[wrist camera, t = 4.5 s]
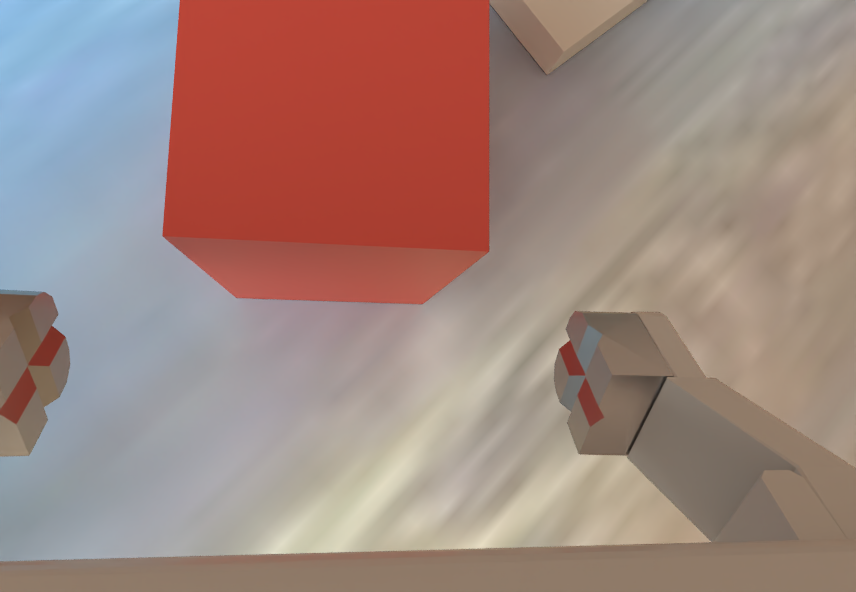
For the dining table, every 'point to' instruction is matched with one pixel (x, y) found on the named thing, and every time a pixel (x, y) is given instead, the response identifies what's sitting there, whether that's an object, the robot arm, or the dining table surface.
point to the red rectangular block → (330, 146)
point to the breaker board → (560, 25)
